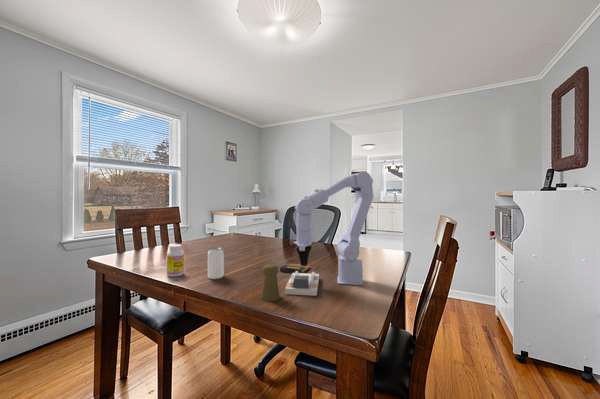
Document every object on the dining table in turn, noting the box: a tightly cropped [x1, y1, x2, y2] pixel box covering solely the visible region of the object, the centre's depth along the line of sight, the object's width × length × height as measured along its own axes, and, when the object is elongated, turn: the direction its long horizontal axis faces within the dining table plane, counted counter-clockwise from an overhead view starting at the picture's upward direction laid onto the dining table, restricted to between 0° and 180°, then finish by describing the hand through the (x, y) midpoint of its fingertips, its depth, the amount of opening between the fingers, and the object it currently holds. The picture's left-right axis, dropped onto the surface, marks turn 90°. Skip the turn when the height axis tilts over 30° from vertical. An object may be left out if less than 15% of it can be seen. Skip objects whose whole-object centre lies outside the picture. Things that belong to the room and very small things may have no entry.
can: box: [207, 247, 225, 280], centre depth 106 cm, size 6×6×12 cm
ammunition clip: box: [279, 263, 311, 274], centre depth 117 cm, size 11×2×12 cm
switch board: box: [284, 271, 320, 296], centre depth 95 cm, size 11×18×4 cm, turn 173°
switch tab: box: [294, 275, 309, 288], centre depth 89 cm, size 5×4×3 cm
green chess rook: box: [261, 263, 280, 302], centre depth 84 cm, size 6×6×11 cm
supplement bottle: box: [166, 243, 185, 278], centre depth 109 cm, size 7×7×13 cm
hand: (304, 265), depth 97 cm, fingers closed
